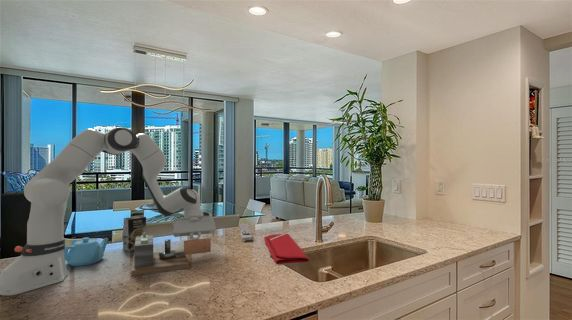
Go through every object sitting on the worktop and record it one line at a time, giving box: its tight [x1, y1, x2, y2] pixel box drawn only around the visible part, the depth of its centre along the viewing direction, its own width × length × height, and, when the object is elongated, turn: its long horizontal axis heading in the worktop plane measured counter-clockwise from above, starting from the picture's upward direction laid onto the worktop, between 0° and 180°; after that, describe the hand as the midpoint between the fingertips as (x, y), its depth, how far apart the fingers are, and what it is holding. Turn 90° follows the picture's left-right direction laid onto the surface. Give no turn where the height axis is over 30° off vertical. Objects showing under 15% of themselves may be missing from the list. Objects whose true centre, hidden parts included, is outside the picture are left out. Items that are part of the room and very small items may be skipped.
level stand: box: [130, 231, 190, 277], centre depth 132 cm, size 22×22×14 cm
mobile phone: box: [238, 223, 253, 243], centre depth 180 cm, size 6×6×25 cm
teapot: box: [64, 236, 109, 267], centre depth 134 cm, size 15×15×11 cm
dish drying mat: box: [263, 233, 310, 265], centre depth 154 cm, size 16×41×4 cm, turn 12°
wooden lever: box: [158, 237, 212, 259], centre depth 138 cm, size 7×22×8 cm, turn 115°
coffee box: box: [122, 215, 147, 252], centre depth 155 cm, size 9×6×16 cm
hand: (196, 241), depth 143 cm, fingers closed
